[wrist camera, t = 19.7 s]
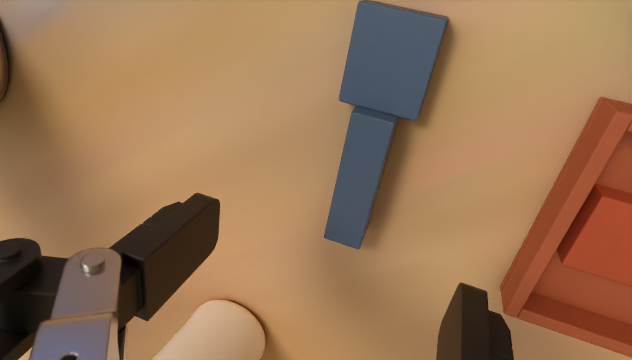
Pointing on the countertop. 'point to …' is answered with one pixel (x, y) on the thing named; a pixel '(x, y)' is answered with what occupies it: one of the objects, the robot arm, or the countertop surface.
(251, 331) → the drinking glass
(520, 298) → the terracotta tray
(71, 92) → the countertop surface
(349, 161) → the slate spoon
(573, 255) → the terracotta spoon
